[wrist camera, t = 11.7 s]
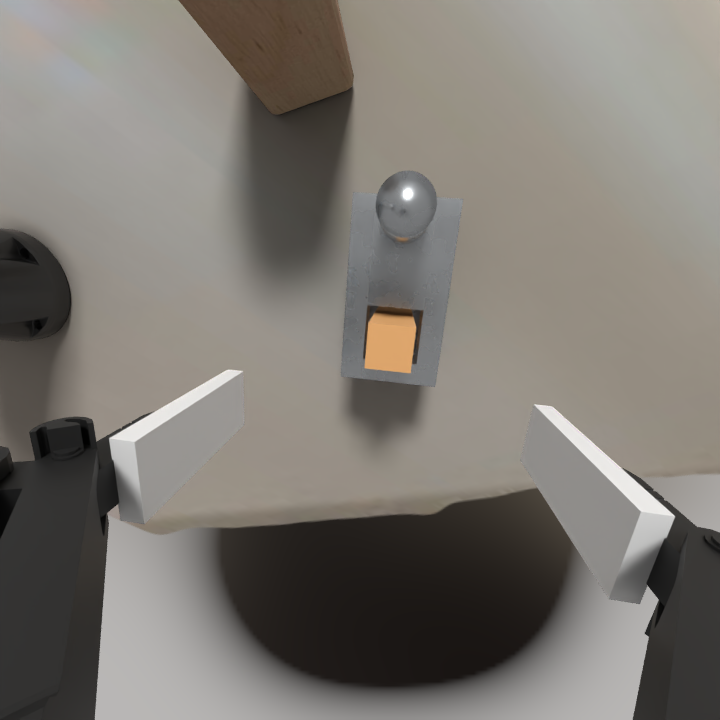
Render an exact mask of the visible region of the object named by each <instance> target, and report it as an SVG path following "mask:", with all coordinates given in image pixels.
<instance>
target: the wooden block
mask: <svg viewBox="0 0 720 720" xmlns="http://www.w3.org/2000/svg"><path fill="white" fill-rule="evenodd" d="M179 1H180V3H181V4H182V5H183V6H184V8H185V9H186V10H187V11H188V12H189V14H190V15H191V16H192V17H193V19H194V20H195V21H196V22H197V23H198V25H199V26H200V27H201V28H202V29H203V31H204V32H205V33H206V34H207V36H208V37H209V38H210V39H211V40H212V42H213V43H214V44H215V45H216V47H217V48H218V49H219V50H220V51H221V53H222V54H223V55H224V56H225V58H226V59H227V60H228V61H229V62H230V64H231V65H232V66H233V67H234V68H235V70H236V71H237V72H238V73H239V75H240V76H241V77H242V78H243V79H244V81H245V82H246V83H247V84H248V86H249V87H250V88H251V89H252V90H253V92H254V93H255V94H256V95H257V97H258V98H259V99H260V100H261V101H262V103H263V104H264V105H265V106H266V107H267V109H268V110H269V111H270V112H271V114H278V115H279V114H282V113H285V112H288V111H291V110H294V109H296V108H299V107H302V106H305V105H307V104H310V103H313V102H316V101H319V100H321V99H324V98H327V97H330V96H333V95H335V94H338V93H341V92H344V91H347V90H348V89H349V88H351V87H352V85H353V77H354V75H353V70H352V66H351V61H350V56H349V52H348V47H347V42H346V38H345V33H344V28H343V24H342V19H341V14H340V10H339V5H338V0H179Z"/></svg>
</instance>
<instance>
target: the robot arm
mask: <svg viewBox="0 0 720 720" xmlns="http://www.w3.org/2000/svg"><path fill="white" fill-rule="evenodd" d="M69 308H70V292H69V287H68V283H67V280H66V277H65V274H64V272H63V270H62V268H61V266H60V264H59V263H58V261H57V260H56V258H55V257H54V256H53V254H52V253H51V252H50V251H49V250H48V249H47V248H46V247H45V246H44V245H43V244H42V243H40V242H39V241H38V240H36V239H35V238H33V237H31V236H30V235H27V234H25V233H23V232H20V231H16V230H9V229H0V340H11V341H28V340H34V339H39V338H44V337H48V336H50V335H52V334H54V333H55V332H57V331H58V330H59V329H60V328H61V327H62V325H63V324H64V322H65V321H66V318H67V316H68V313H69ZM243 425H244V380H243V371H236V370H226V371H224V372H223V373H221V374H219V375H217V376H216V377H214V378H212V379H211V380H209V381H207V382H205V383H204V384H202V385H200V386H198V387H197V388H195V389H193V390H192V391H190V392H188V393H186V394H185V395H183V396H181V397H179V398H178V399H176V400H174V401H173V402H171V403H169V404H167V405H166V406H164V407H162V408H161V409H159V410H157V411H154V412H151V413H148V414H145V415H143V416H141V417H139V418H137V419H136V420H134V421H132V423H129V424H127V425H125V426H123V427H122V429H118V430H116V431H115V432H113V433H111V434H109V435H107V436H106V437H104V438H102V439H100V440H99V441H97V442H96V437H95V431H94V424H93V421H92V419H89V418H87V417H68V418H62V419H57V420H53V421H49V422H46V423H43V424H41V425H39V426H37V427H35V428H33V429H32V430H31V431H30V432H29V433H30V438H31V442H32V447H33V452H34V456H35V461H26V462H12V458H11V454H10V451H9V449H8V448H6V447H2V446H0V720H95V706H96V693H97V679H98V665H99V651H100V637H101V623H102V608H103V595H104V582H105V581H104V580H105V567H106V553H107V539H108V526H109V522H108V515H107V513H108V512H109V511H110V510H111V509H112V508H114V507H115V506H116V505H117V504H118V505H119V512H120V519H121V521H127V522H134V523H140V524H145V523H146V522H147V521H148V520H149V519H150V518H151V517H152V516H153V515H154V514H155V513H156V512H157V511H158V510H159V509H160V508H161V507H162V506H163V505H164V504H165V503H166V502H167V501H168V500H169V499H170V498H171V497H172V496H173V495H174V494H175V493H176V492H177V491H178V490H179V489H180V488H181V487H182V486H183V485H184V484H185V483H186V482H187V481H188V480H189V479H190V478H191V477H192V476H193V475H194V474H195V473H196V472H197V471H198V470H199V469H200V468H201V467H202V466H203V465H204V464H205V463H206V462H207V461H208V460H209V459H210V458H211V457H212V456H213V455H214V454H215V453H216V452H217V451H218V450H219V449H220V448H221V447H222V446H223V445H224V444H225V443H226V442H227V441H228V440H229V439H230V438H231V437H232V436H233V435H234V434H235V433H236V432H237V431H238V430H239V429H240V428H241V427H242V426H243ZM520 461H521V462H522V464H523V465H524V467H525V468H526V470H527V472H528V473H529V475H530V476H531V478H532V479H533V481H534V482H535V484H536V486H537V487H538V489H539V490H540V492H541V493H542V495H543V497H544V498H545V499H546V501H547V503H548V504H549V506H550V508H551V509H552V511H553V512H554V514H555V515H556V517H557V519H558V520H559V522H560V523H561V525H562V526H563V528H564V530H565V531H566V533H567V534H568V536H569V537H570V539H571V540H572V542H573V544H574V545H575V547H576V548H577V550H578V551H579V553H580V555H581V556H582V558H583V559H584V561H585V562H586V564H587V566H588V567H589V569H590V570H591V572H592V574H593V575H594V577H595V578H596V580H597V581H598V583H599V584H600V586H601V587H602V589H603V591H604V592H605V594H606V595H607V597H608V598H609V599H611V600H618V601H624V602H630V603H636V604H640V602H641V600H642V597H643V595H644V592H645V590H646V587H647V585H648V586H649V588H650V589H651V590H652V592H653V593H654V594H655V595H656V597H657V598H658V599H659V601H658V603H657V606H656V608H655V610H654V613H653V615H652V617H651V620H650V622H649V624H648V627H647V629H646V632H645V634H646V635H647V636H649V640H648V645H647V650H646V655H645V660H644V665H643V671H642V675H641V680H640V686H639V691H638V696H637V701H636V706H635V711H634V716H633V720H720V533H719V532H716V531H714V530H711V529H706V528H701V527H697V526H695V525H694V524H693V523H692V522H690V521H689V520H688V519H687V518H686V517H685V516H684V515H683V514H681V513H680V512H679V511H678V510H677V509H676V508H674V507H673V506H672V505H671V504H670V503H668V502H667V501H665V500H664V498H663V497H662V496H661V495H659V494H658V493H657V492H655V491H653V489H652V488H651V487H650V486H649V485H648V484H646V483H645V482H644V481H643V480H642V479H641V478H639V477H637V476H636V475H634V474H632V473H631V472H629V471H627V470H625V469H624V468H620V467H619V466H618V465H617V464H616V463H615V462H614V461H613V460H611V459H610V458H609V457H608V456H607V455H606V454H605V453H604V452H603V451H601V450H600V449H599V448H598V447H597V446H596V445H595V444H594V443H592V442H591V441H590V440H589V439H588V438H587V437H586V436H585V435H583V434H582V433H581V432H580V431H579V430H578V429H577V428H576V427H574V426H573V425H572V424H571V423H570V422H569V421H568V420H567V419H566V418H564V417H563V416H562V415H561V414H560V413H559V412H558V411H557V410H555V409H554V408H553V407H552V406H544V405H535V404H534V405H533V409H532V413H531V417H530V421H529V426H528V430H527V434H526V438H525V442H524V446H523V451H522V455H521V459H520Z"/></svg>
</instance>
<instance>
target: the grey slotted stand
mask: <svg viewBox="0 0 720 720" xmlns="http://www.w3.org/2000/svg"><path fill="white" fill-rule="evenodd" d="M462 203H463V199H457V198H440V197H436V192H435V189H434V187H433V185H432V184H431V182H430V181H429V180H428V179H427V178H426V177H425V176H423V175H422V174H420V173H418V172H414V171H402V172H398V173H396V174H394V175H392V176H391V177H389V178H388V179H387V180H386V181H385V182H384V183H383V185H382V186H381V188H380V189H379V192H378V194H375V193H358V192H353V200H352V215H351V230H350V245H349V260H348V275H347V290H346V305H345V320H344V335H343V350H342V365H341V376H342V377H351V378H360V379H369V380H378V381H387V382H395V383H404V384H413V385H422V386H431V387H435V384H436V377H437V371H438V364H439V357H440V350H441V344H442V337H443V330H444V324H445V317H446V310H447V304H448V297H449V290H450V283H451V277H452V270H453V263H454V257H455V250H456V243H457V237H458V230H459V223H460V216H461V210H462ZM378 306H382V307H393V308H404V309H411V310H412V314H413V317H414V321H415V325H416V334H415V342H414V350H413V358H412V366H411V373H402V372H393V371H384V370H375V369H366V368H365V356H366V345H367V333H368V323H369V321H370V319H371V318H372V316H373V314H374V313H375V311H376V310H377V308H378Z"/></svg>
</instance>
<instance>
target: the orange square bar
mask: <svg viewBox="0 0 720 720" xmlns="http://www.w3.org/2000/svg"><path fill="white" fill-rule="evenodd" d="M415 334H416V325H415V321H414V317H413V314H412V310H411V309H404V308H393V307H382V306H378V308H377V310H376V311H375V313H374V314H373V316H372V318H371V319H370V321H369V323H368V333H367V345H366V356H365V368H366V369H375V370H384V371H393V372H402V373H411V366H412V358H413V350H414V342H415Z"/></svg>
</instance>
